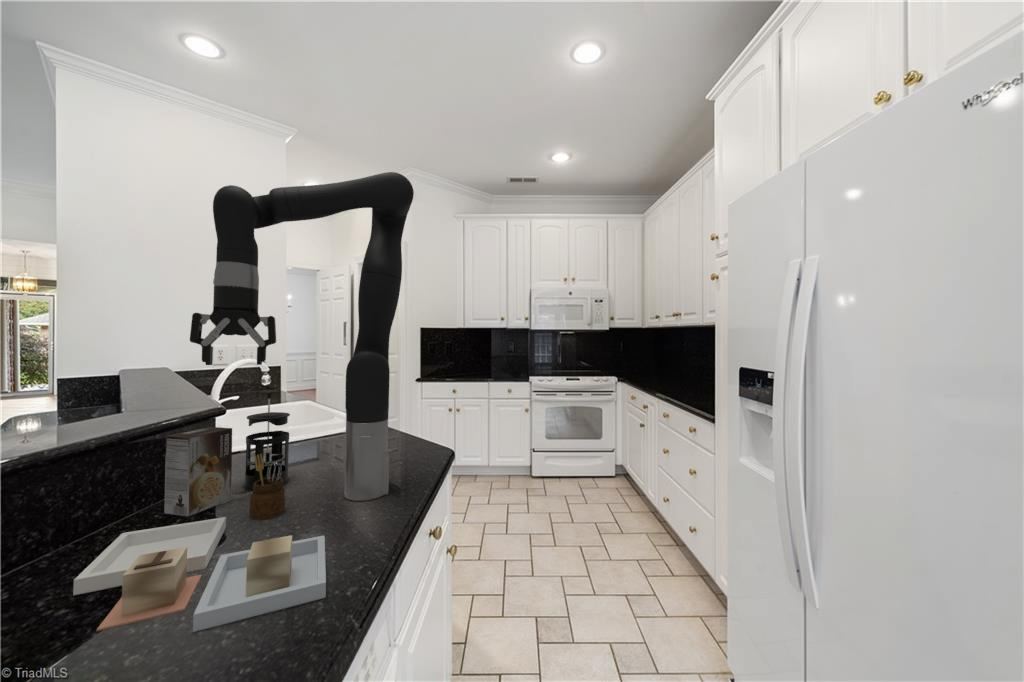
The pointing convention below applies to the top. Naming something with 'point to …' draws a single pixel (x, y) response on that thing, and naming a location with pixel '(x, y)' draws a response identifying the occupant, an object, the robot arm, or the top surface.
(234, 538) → the top surface
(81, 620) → the top surface
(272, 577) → the plain cube
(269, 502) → the utensil holder
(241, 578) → the blue tray
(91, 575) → the white tray
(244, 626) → the top surface
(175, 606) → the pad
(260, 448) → the french press
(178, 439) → the coffee box
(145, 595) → the letter cube
